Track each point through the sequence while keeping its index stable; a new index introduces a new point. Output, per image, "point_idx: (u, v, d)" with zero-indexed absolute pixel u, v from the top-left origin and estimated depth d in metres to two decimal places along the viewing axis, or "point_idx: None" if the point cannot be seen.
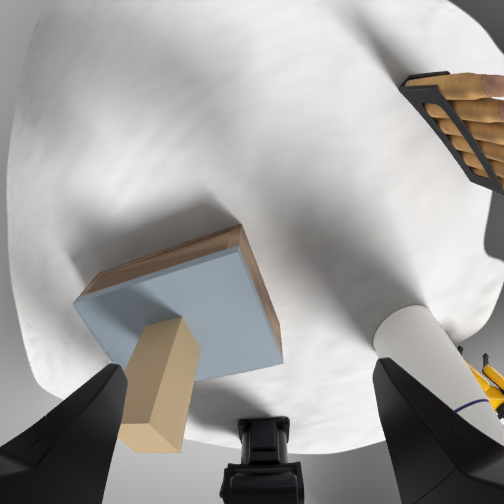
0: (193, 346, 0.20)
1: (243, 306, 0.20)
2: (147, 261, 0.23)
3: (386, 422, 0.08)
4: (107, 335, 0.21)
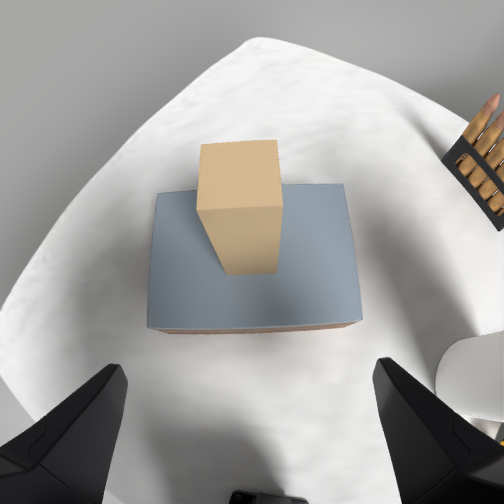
0: None
1: (337, 231, 0.20)
2: None
3: (386, 422, 0.08)
4: (171, 234, 0.21)
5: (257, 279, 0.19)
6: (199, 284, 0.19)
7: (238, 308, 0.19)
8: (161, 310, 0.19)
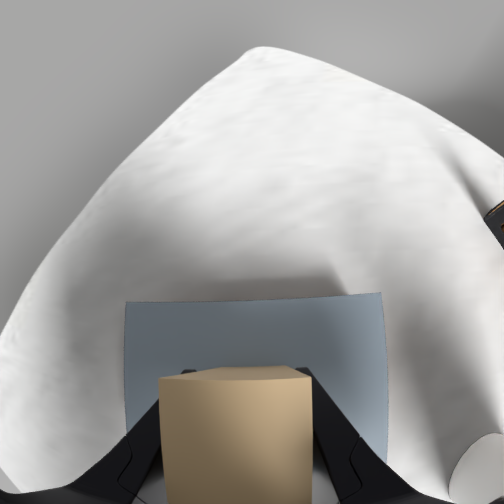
0: None
1: (369, 365, 0.14)
2: None
3: None
4: (147, 366, 0.14)
5: None
6: None
7: None
8: None
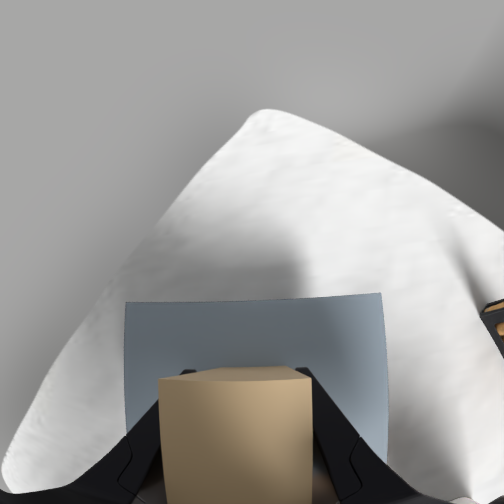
0: None
1: (369, 366, 0.14)
2: None
3: None
4: (147, 366, 0.14)
5: None
6: None
7: None
8: None
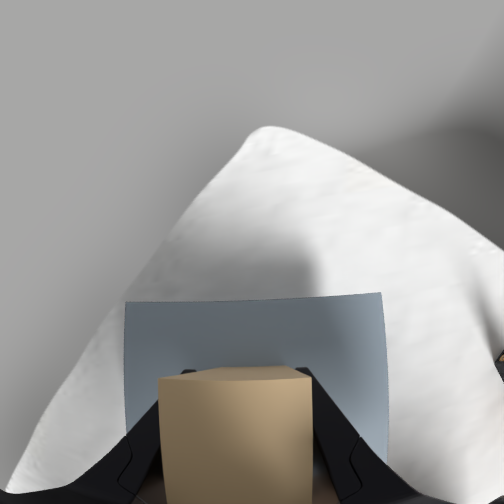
0: None
1: (369, 365, 0.14)
2: None
3: None
4: (147, 366, 0.14)
5: None
6: None
7: None
8: None
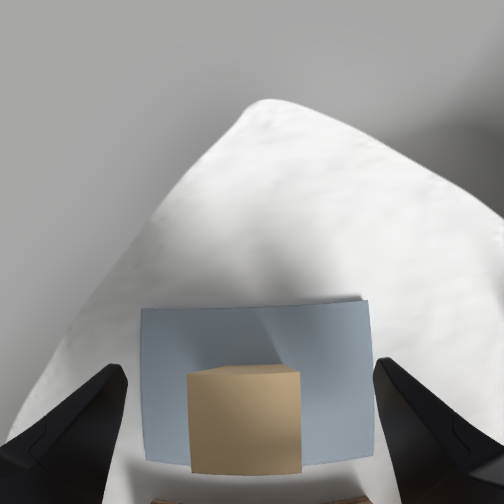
0: None
1: (356, 364, 0.16)
2: None
3: (386, 422, 0.08)
4: (161, 365, 0.16)
5: None
6: None
7: None
8: (159, 446, 0.15)
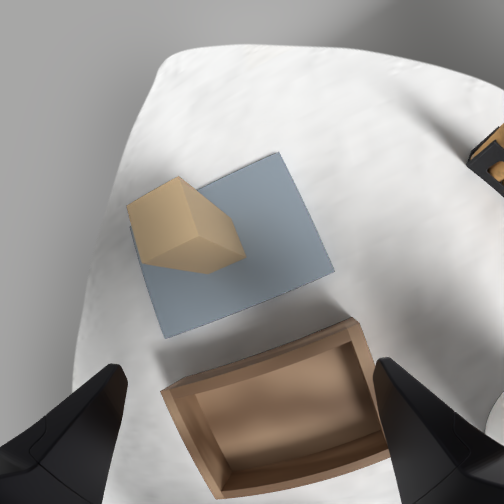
0: (238, 242, 0.21)
1: (287, 199, 0.22)
2: (248, 359, 0.20)
3: (386, 422, 0.08)
4: None
5: (232, 268, 0.22)
6: (189, 289, 0.23)
7: (226, 298, 0.22)
8: (169, 321, 0.23)
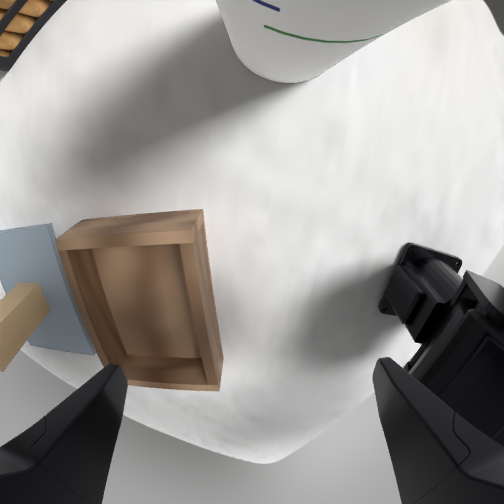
0: (27, 287, 0.22)
1: (8, 242, 0.21)
2: None
3: (386, 422, 0.08)
4: (45, 338, 0.26)
5: (46, 294, 0.23)
6: (60, 326, 0.25)
7: (63, 306, 0.24)
8: (82, 346, 0.26)
